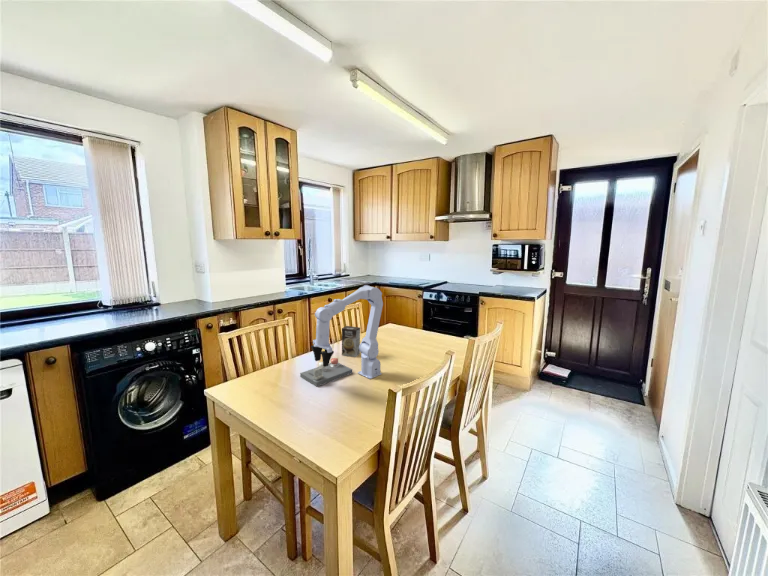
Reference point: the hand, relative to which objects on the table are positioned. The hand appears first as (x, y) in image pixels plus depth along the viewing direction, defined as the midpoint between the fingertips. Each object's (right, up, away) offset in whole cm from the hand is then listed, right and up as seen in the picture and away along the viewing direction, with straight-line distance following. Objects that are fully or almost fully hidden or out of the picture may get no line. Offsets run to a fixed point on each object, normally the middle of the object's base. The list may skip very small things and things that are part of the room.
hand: (321, 363), depth 141 cm
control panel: (0, -9, +12) cm, 15 cm away
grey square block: (-2, -8, +4) cm, 9 cm away
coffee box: (+9, -5, +40) cm, 41 cm away
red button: (+3, -4, +19) cm, 20 cm away
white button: (-2, -5, +14) cm, 15 cm away
